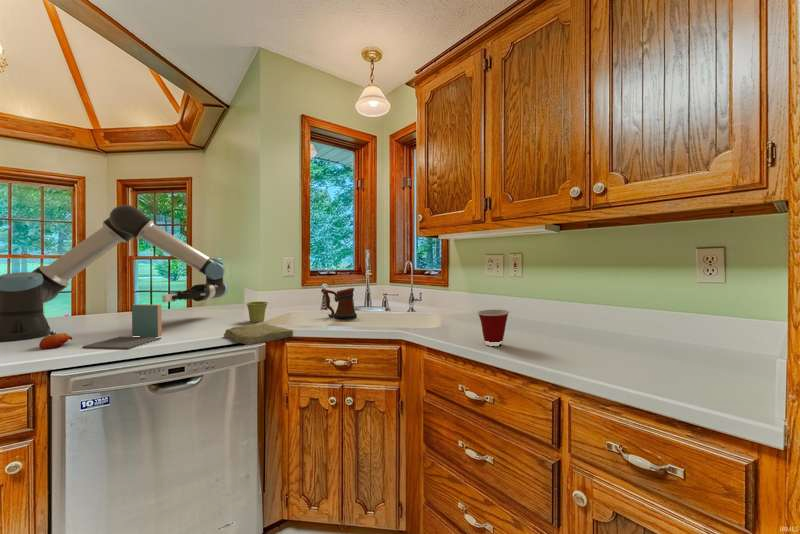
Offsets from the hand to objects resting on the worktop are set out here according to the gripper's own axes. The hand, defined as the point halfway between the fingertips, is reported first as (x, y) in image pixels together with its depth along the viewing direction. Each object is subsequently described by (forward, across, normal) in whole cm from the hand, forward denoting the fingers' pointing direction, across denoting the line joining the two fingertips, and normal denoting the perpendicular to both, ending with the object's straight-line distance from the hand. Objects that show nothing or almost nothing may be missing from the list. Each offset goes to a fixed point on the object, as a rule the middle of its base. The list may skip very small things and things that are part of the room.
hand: (164, 298), depth 139 cm
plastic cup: (+7, -126, -15) cm, 127 cm away
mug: (-42, -59, -15) cm, 74 cm away
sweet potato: (+24, +20, -13) cm, 34 cm away
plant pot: (-27, -24, -14) cm, 39 cm away
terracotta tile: (+8, +1, -13) cm, 16 cm away
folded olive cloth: (+3, -39, -14) cm, 42 cm away
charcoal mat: (+18, +1, -13) cm, 22 cm away
